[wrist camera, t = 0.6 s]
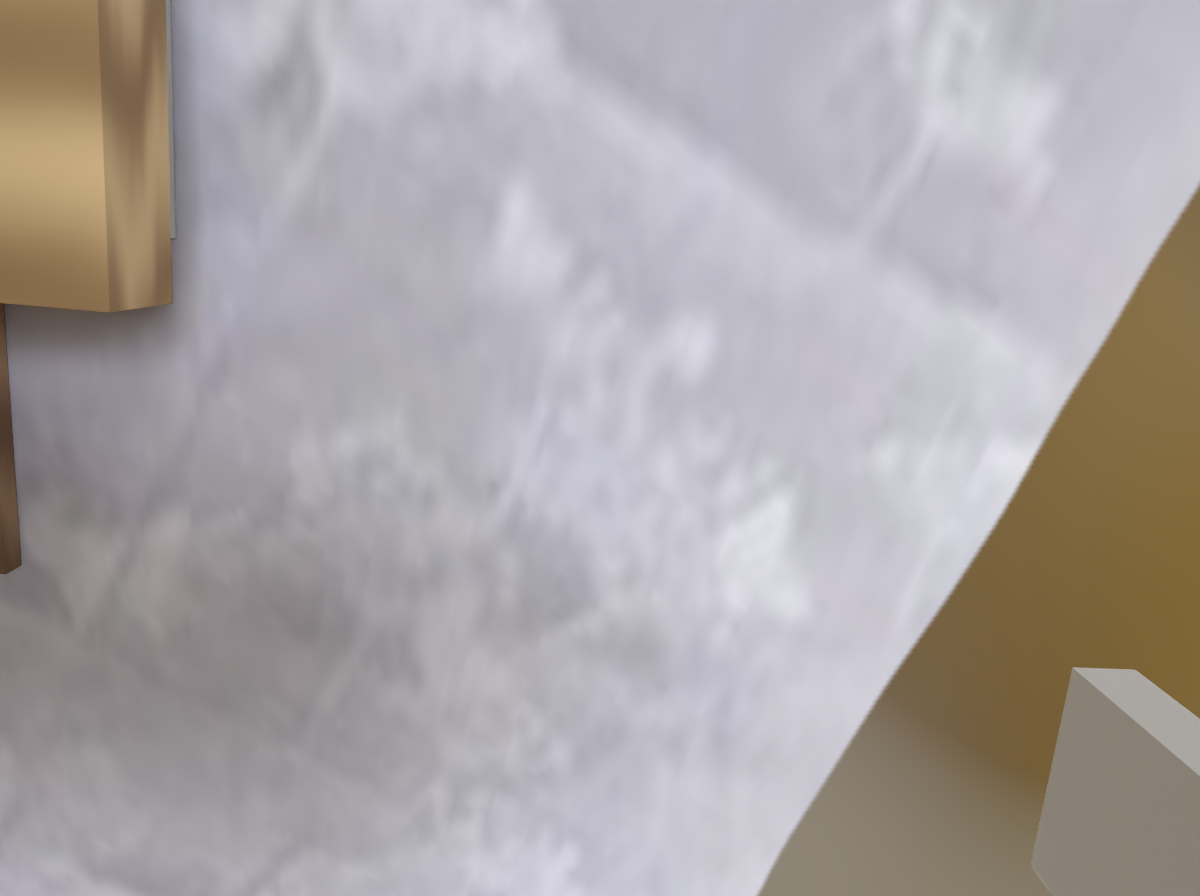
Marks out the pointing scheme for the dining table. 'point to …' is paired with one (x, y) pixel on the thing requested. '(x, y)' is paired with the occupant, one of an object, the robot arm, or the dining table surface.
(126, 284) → the plank
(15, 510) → the peg frame
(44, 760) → the dining table surface
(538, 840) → the dining table surface
